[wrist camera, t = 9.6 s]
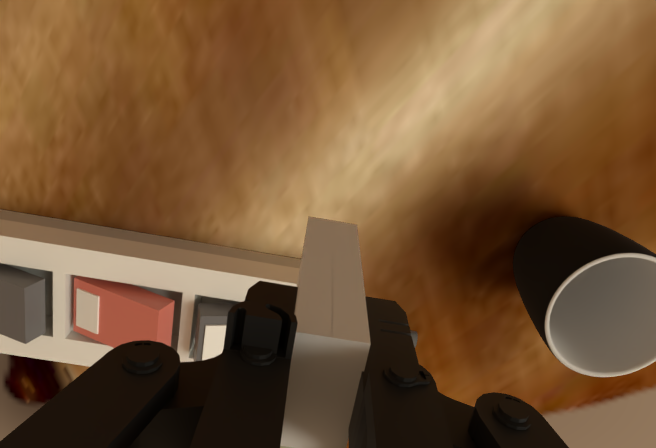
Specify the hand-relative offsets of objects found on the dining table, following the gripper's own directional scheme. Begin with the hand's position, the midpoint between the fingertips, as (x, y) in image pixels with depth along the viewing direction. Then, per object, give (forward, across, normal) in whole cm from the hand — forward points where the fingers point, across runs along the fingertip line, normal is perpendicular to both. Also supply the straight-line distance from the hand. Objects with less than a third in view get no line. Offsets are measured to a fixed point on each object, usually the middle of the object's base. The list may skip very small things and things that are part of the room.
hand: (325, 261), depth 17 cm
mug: (+25, +21, -7) cm, 33 cm away
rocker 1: (+20, -22, -16) cm, 34 cm away
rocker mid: (+20, -13, -16) cm, 29 cm away
